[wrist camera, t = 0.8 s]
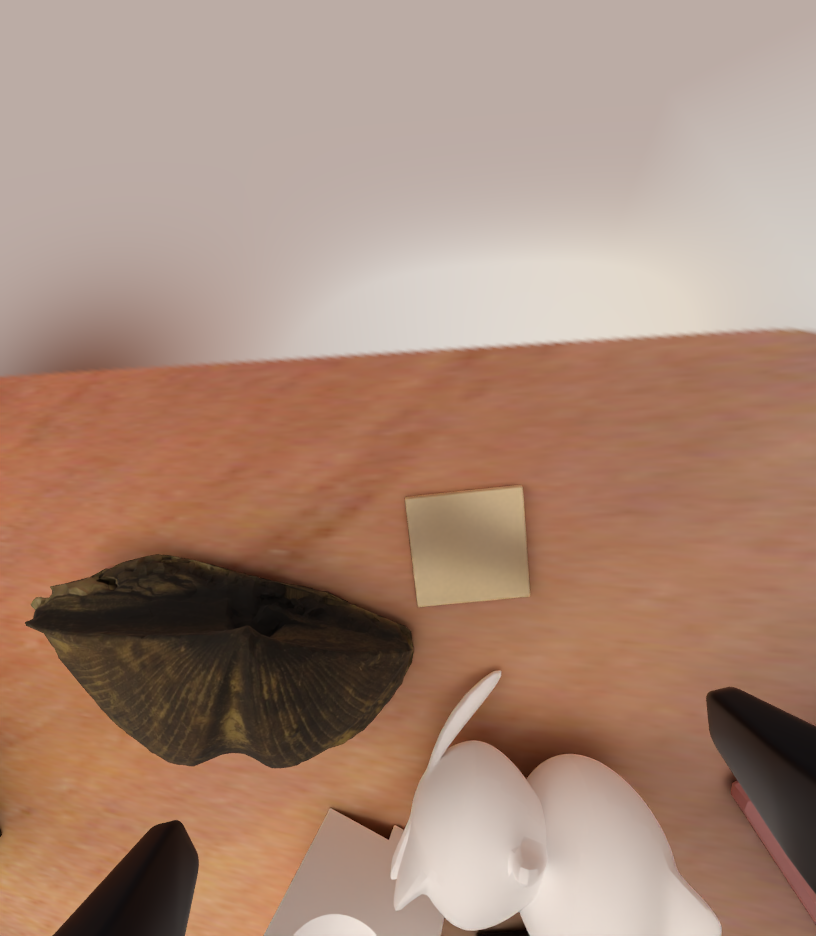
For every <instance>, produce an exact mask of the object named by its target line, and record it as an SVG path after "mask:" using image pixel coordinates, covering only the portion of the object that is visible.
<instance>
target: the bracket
mask: <svg viewBox="0 0 816 936" xmlns="http://www.w3.org/2000/svg"><path fill="white" fill-rule="evenodd" d="M403 831H404V830H403V829H401V828H400V827H398V826H396V825H394V827H393V829H392V832H391V835H390V838H389V840H388V839H386V838H384V837H382V836H381V835H379V834H377V833H375V832H373V831H371V830H370V829H368V828H366V827H364V826H362V825H361V824H359V823H357V822H355V821H353V820H351V819H350V818H348V817H346V816H344V815H342V814H340V813H339V812H337V811H335V810H333V809H331V808H330V809H329V811H328V813H327V815H326V817H325V819H324V821H323V822H322V824H321V826H320V828H319V830H318V832H317V834H316V836H315V838H314V840H313V842H312V844H311V845H310V847H309V849H308V851H307V853H306V855H305V857H304V859H303V861H302V863H301V865H300V867H299V869H298V870H297V872H296V874H295V876H294V878H293V880H292V882H291V884H290V886H289V888H288V890H287V892H286V893H285V895H284V897H283V899H282V901H281V903H280V905H279V907H278V909H277V911H276V913H275V915H274V916H273V918H272V920H271V922H270V924H269V926H268V928H267V930H266V932H265V934H264V936H441V932H442V927H443V921H444V916H443V915H442V914H441V913H440V912H439V911H438V909H437V908H436V907H435V905H434V904H433V903H432V901H431V900H430V898H429V897H428V896H427V895H424V894H421V895H419V896H418V897H417V898H415V899H414V900H412V901H411V902H410V903H408V904H407V905H406V906H405V907H403V908H402V909H401V910H397V911H395V907H394V893H395V886H396V880H397V879H393V880H392V879H391V875H390V873H391V864H392V858H393V855H394V853H395V850H396V848H397V845H398V843H399V841H400V838H401V836H402V834H403Z"/></svg>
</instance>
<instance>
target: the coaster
mask: <svg viewBox="0 0 816 936" xmlns="http://www.w3.org/2000/svg"><path fill="white" fill-rule="evenodd" d="M405 506H406V515H407V523H408V531H409V540H410V548H411V557H412V565H413V574H414V582H415V590H416V599H417V606H418V607H426V606H437V605H447V604H458V603H468V602H479V601H489V600H500V599H510V598H521V597H530V583H529V569H528V554H527V540H526V525H525V511H524V496H523V487H522V486H521V485H512V486H502V487H493V488H483V489H474V490H464V491H455V492H446V493H436V494H427V495H417V496H408V497H405Z"/></svg>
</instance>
